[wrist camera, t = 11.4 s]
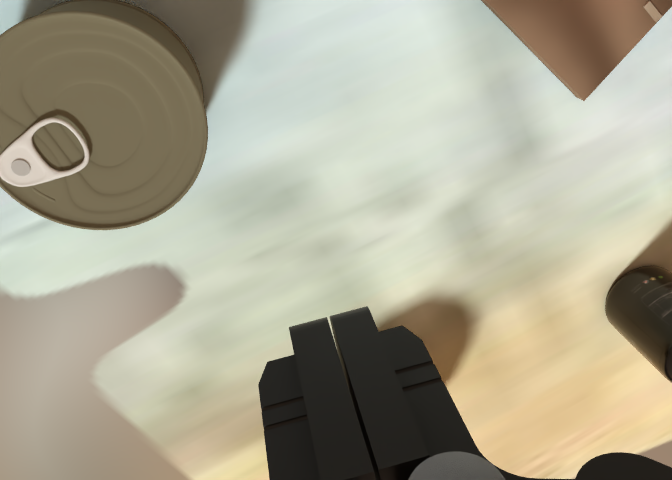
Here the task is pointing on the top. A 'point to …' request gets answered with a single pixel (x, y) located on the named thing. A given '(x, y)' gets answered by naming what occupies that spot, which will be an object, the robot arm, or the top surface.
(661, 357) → the supplement bottle
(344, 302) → the top surface
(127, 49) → the can
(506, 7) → the brown piece
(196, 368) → the top surface
